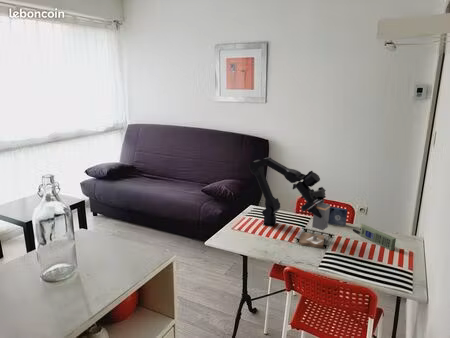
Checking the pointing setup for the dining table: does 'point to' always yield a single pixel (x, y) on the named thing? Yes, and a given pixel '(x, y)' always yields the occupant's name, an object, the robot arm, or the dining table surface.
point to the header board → (311, 240)
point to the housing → (323, 221)
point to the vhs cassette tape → (337, 216)
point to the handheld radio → (377, 237)
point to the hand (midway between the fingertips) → (323, 215)
